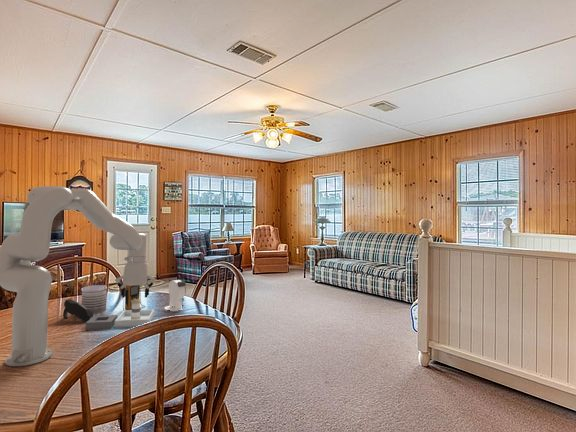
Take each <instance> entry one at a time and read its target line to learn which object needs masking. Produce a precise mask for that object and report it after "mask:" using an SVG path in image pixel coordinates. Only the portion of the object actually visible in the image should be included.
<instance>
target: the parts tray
mask: <svg viewBox="0 0 576 432" xmlns="http://www.w3.org/2000/svg"><path fill="white" fill-rule="evenodd" d="M131 314H132V312H131V310H124V311H123V310H122V312H121V313H120V314H118V318H117V319H116V320H115V322H114V326H113V327H114V328H116V329H117V328H119V327H120V328H134V327H135V326H138V325H142V324H144V323H147V322H150V321H151V322H153V321H152V320H153V319H154V317H155V309H141V310H140V319H134V320H131ZM135 328H136V327H135Z"/></svg>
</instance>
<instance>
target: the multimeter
mask: <svg viewBox="0 0 576 432" xmlns="http://www.w3.org/2000/svg"><path fill="white" fill-rule="evenodd" d="M125 288H126V294H125V297H124V306H122V309H123V310H122V312H123V311H126V310H131V309H132V303H131V300H133V299H141V297H142V296H141V285H126V286H125ZM140 306H142V307H141V308H140V310H142V309H143V308H144V309H145V305H144V304H143V303H140Z"/></svg>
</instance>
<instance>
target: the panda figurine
mask: <svg viewBox="0 0 576 432" xmlns="http://www.w3.org/2000/svg"><path fill="white" fill-rule="evenodd" d="M186 284H187V283H186V281H185V280H183V281H182V280H181V279H177V278H175V277H174V278H170V279H168V294H169V305H167V306H164V311H167V310H170V311H169V312H179V311H178V310H181V311H184V310H183V309H182V305H183V302H184V301H185V300H184V297H185V294H186V293H187V290H186ZM172 306H173V309H171V308H172ZM174 306H175V308H174Z"/></svg>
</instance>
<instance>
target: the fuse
mask: <svg viewBox="0 0 576 432" xmlns="http://www.w3.org/2000/svg"><path fill="white" fill-rule="evenodd" d="M131 303H132V309H131V312H132V314H131V320H134V319H140V309H141V304H142V300H141V299H140V298H139V299H133V300H131Z"/></svg>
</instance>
